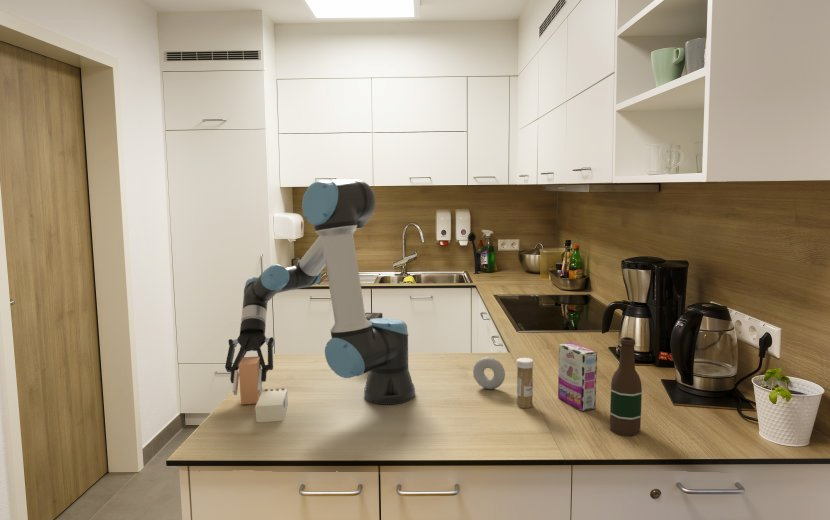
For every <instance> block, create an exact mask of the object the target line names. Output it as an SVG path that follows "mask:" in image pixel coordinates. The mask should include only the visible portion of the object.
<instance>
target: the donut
mask: <svg viewBox="0 0 830 520" xmlns="http://www.w3.org/2000/svg"><path fill="white" fill-rule="evenodd" d="M486 369H490V370H492V372H493V376H492V377H488V376H486V374H485V370H486ZM472 372H473V373H472V374H473V378H474V380H475V382H476V383H477V384H478V386H480V387H481V388H484V389H486V390H494V389H495V390H496V389H497V388H499V387H500V386H502V384H503V383H504V382H505V378H506V371H505V368H504V366H503V364H502V363H501V362H500V361H499V360H497V359H496V358H495V357H491V356H484V357H481V358H479V359H478V360H477V361H476V362H475V364H474V366H473V371H472Z"/></svg>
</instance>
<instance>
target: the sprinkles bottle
mask: <svg viewBox="0 0 830 520" xmlns="http://www.w3.org/2000/svg"><path fill="white" fill-rule="evenodd" d="M516 369H517V370H516V371H517V372H516V373H517V374H516V375H517V376H516V394H517V396H516V397H517V398H516V400H517V401H516V406H517V407H519V408H522V409H530V408H532V407H533V405H534V404H533V395H534V394H533V389H534V387H533V385H534V384H533V381H534V380H533V379H534V378H533V376H534V373H533V370H534V360H533V359H532V358H531V357H530V358H529V357H519V358H517V359H516Z"/></svg>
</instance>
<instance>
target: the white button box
mask: <svg viewBox="0 0 830 520" xmlns="http://www.w3.org/2000/svg"><path fill="white" fill-rule="evenodd" d="M288 404H289V398H288V388H284V387H282V388H275V389H274V388H269V389H268V388H266V389H262V393H261V395H260V397H259V400H258V402H257V404H255V418H256V421H255V422H256V423H268V422H270V423H271V422H283V421H284V419H285V415H286V412H287V408H288Z"/></svg>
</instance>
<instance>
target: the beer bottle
mask: <svg viewBox="0 0 830 520" xmlns="http://www.w3.org/2000/svg"><path fill="white" fill-rule="evenodd" d="M619 342H620V355H619V363H618V368H617V369H616V370H615V371H614V373H613V375H612V377H611V381H610V382H611V383H610V404H609V405H610V407H609V425H610V427H609V430H610V431H611V432H612V433H615V434H616V435H618V436H625V437H634V436H637V435H639V434H640V433H641V422H642V421H641V420H642V398H643V397H642V396H643V389H642V388H643V387H642V380H641V378H640V374H639V373H638V372H637V371H636V366H635V364H636V362H635V360H636V359H635V345H636V341H635V338H632V337H631V336H630V337H626V336H625V337H621V338H620V341H619Z"/></svg>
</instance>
